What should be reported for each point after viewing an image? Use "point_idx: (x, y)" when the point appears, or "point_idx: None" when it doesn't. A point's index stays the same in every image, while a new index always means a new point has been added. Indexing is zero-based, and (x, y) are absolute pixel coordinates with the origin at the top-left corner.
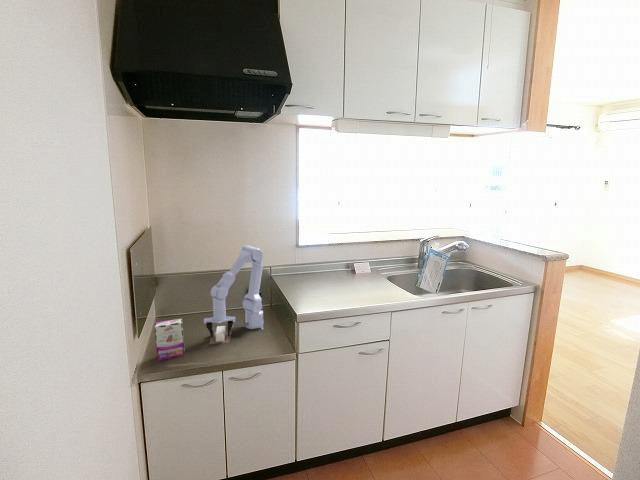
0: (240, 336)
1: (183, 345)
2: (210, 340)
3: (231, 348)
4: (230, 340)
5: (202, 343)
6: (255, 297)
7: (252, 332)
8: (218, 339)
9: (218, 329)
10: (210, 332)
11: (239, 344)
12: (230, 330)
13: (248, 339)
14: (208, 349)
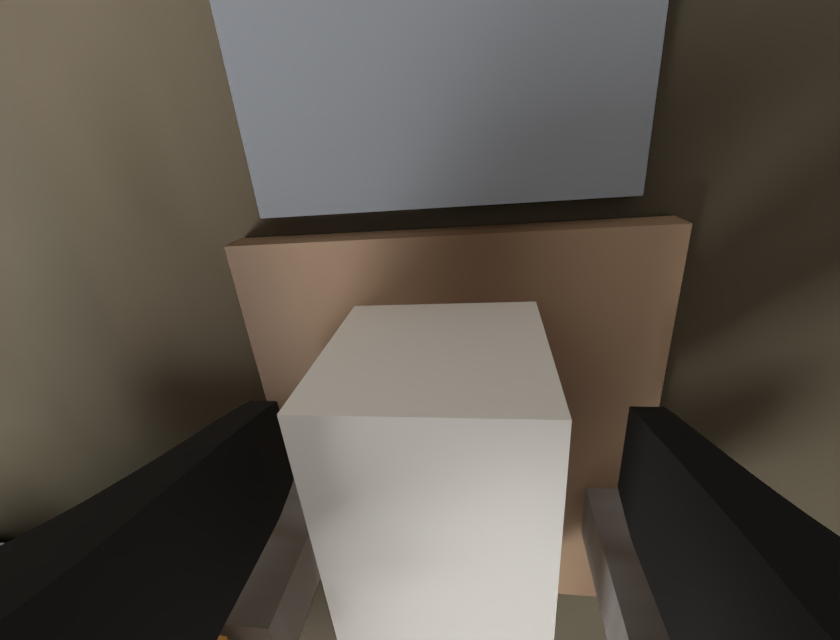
0: (161, 441)
1: None
2: (659, 369)
3: (157, 22)
4: (242, 312)
5: (831, 319)
6: None
7: (46, 505)
8: (477, 324)
9: (496, 632)
10: (801, 522)
11: (68, 191)
12: (255, 565)
13: (4, 342)
14: (718, 2)
